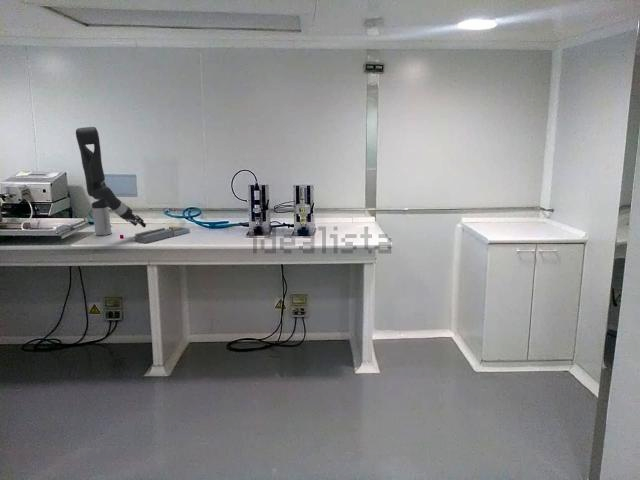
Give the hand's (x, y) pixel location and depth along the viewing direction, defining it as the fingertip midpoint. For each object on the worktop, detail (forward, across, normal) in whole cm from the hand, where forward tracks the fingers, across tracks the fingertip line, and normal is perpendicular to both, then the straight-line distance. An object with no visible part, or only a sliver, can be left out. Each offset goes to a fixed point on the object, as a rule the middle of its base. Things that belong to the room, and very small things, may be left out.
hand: (140, 225), depth 299 cm
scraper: (+2, 0, +6) cm, 7 cm away
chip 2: (+15, -11, -10) cm, 22 cm away
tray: (+17, -11, -7) cm, 21 cm away
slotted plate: (+5, -11, +4) cm, 13 cm away
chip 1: (+12, -11, -6) cm, 18 cm away
